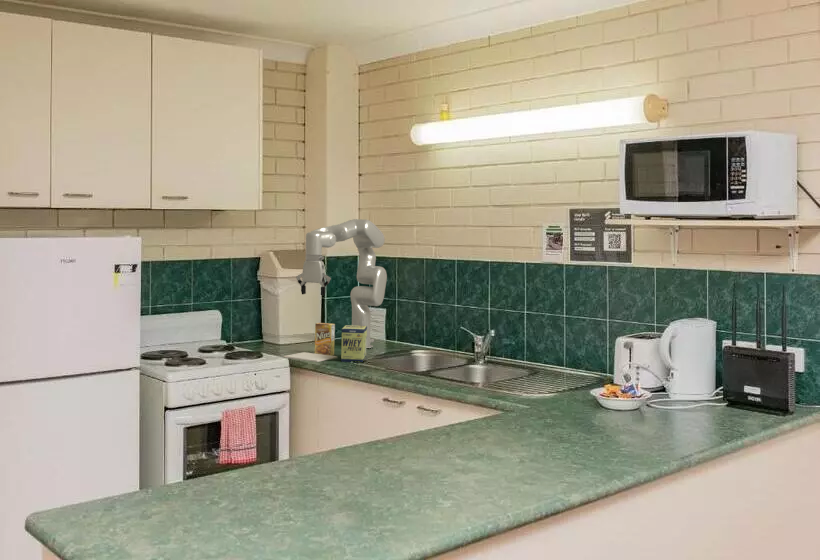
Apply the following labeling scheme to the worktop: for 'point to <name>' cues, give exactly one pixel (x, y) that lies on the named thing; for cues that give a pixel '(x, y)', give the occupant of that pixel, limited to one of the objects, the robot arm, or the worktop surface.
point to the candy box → (324, 338)
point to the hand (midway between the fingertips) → (313, 294)
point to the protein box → (353, 343)
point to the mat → (310, 356)
